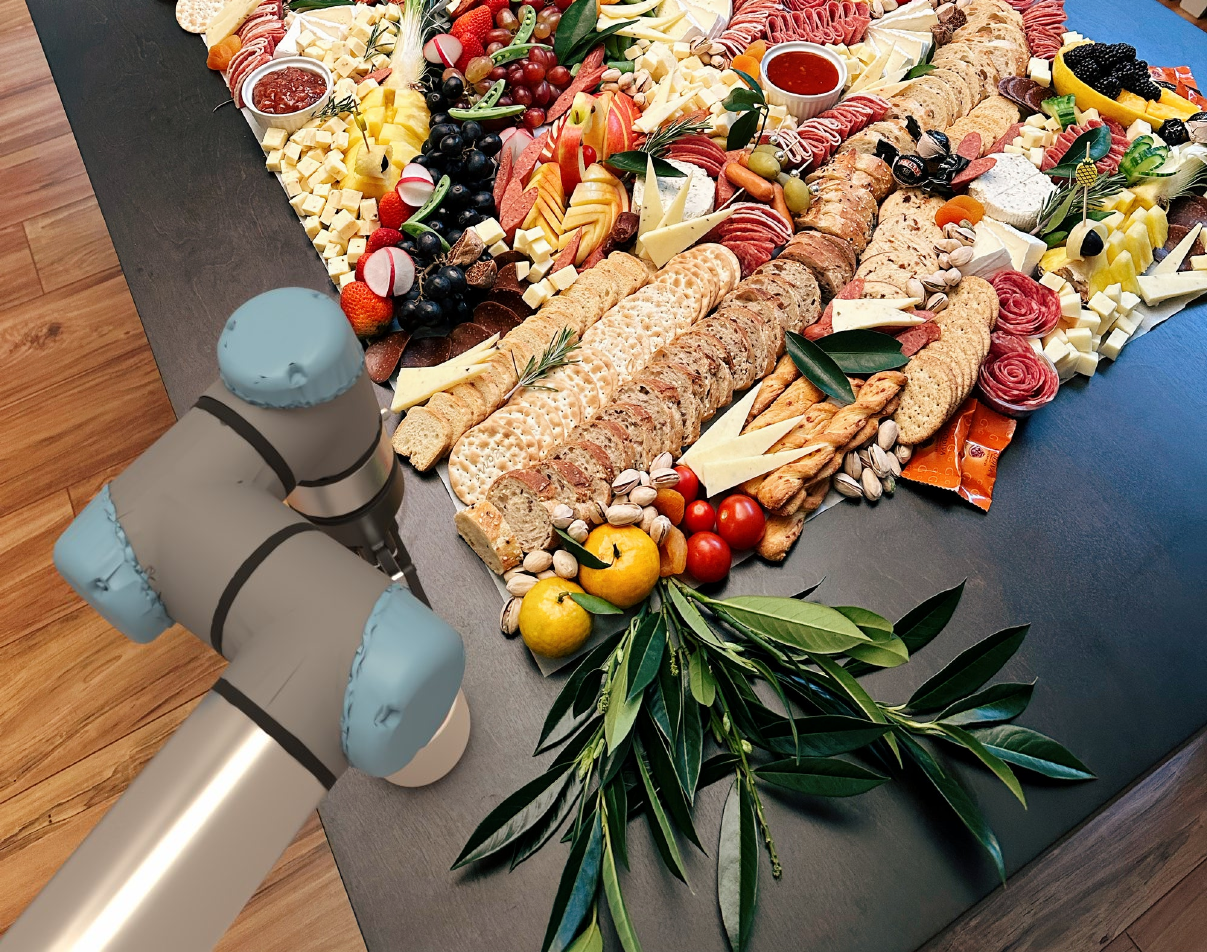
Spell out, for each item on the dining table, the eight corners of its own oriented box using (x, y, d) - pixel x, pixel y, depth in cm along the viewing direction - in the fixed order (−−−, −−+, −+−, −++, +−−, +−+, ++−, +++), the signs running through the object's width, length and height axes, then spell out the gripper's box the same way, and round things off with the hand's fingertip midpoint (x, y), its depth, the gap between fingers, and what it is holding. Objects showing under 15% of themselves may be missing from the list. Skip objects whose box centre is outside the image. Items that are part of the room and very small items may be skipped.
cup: (480, 774, 107) (466, 737, 100) (373, 804, 106) (351, 769, 99) (463, 667, 114) (448, 625, 107) (362, 695, 113) (341, 654, 106)
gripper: (484, 585, 69) (519, 712, 84) (311, 316, 84) (368, 464, 99) (372, 660, 66) (429, 777, 81) (214, 367, 81) (287, 512, 96)
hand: (396, 606), depth 90 cm, fingers open, 13 cm apart
